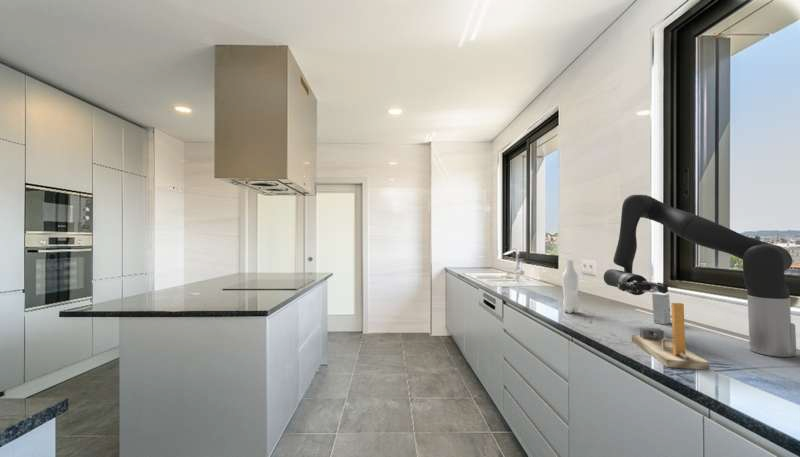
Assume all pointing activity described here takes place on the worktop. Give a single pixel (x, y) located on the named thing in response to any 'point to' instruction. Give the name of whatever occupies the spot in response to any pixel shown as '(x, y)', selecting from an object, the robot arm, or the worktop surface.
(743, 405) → the worktop surface
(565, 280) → the water bottle
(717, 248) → the robot arm
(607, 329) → the worktop surface
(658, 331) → the gray rectangular block
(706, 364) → the rail board
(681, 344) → the upright wooden paddle
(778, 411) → the worktop surface
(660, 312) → the skincare box
